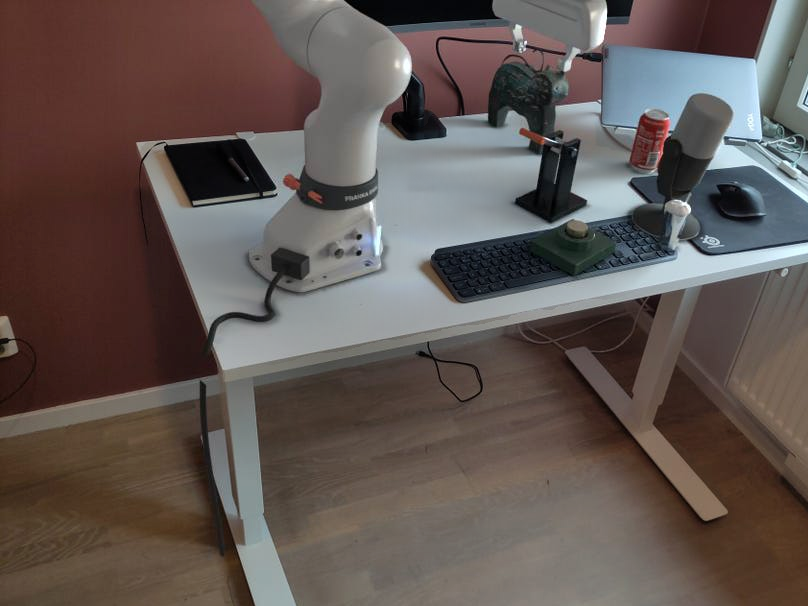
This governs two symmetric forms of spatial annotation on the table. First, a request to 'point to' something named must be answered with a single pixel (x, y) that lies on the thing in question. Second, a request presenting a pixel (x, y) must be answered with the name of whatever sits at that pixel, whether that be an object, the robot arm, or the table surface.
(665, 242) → the milkshake
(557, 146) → the switch lever
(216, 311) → the table surface
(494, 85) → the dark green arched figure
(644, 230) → the microphone
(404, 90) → the robot arm
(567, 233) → the button
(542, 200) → the switch bracket
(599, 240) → the button housing
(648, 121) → the beverage can
